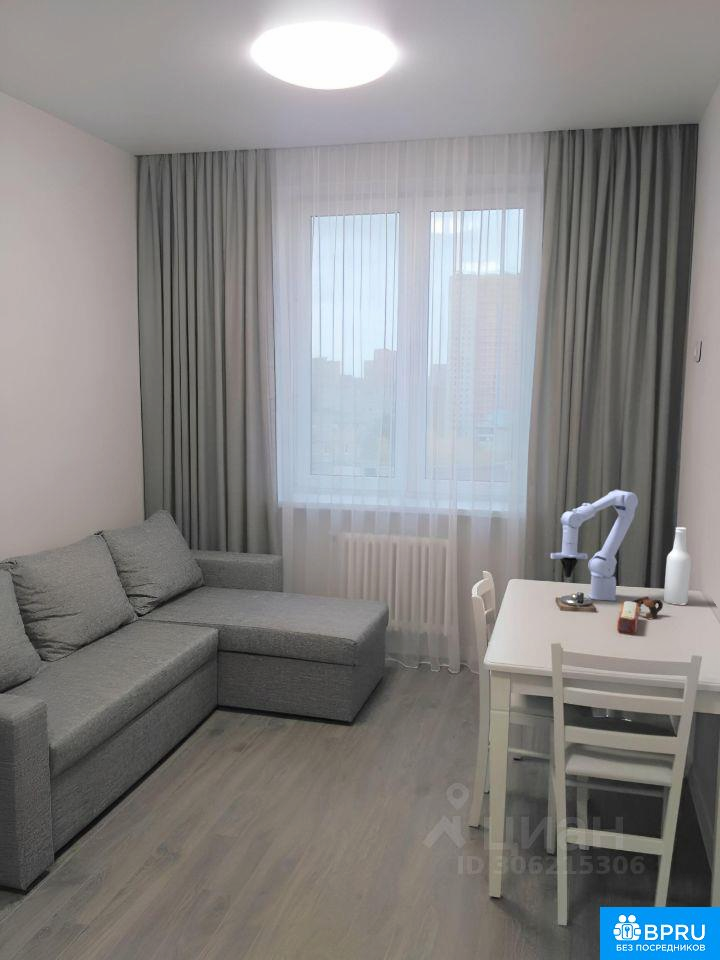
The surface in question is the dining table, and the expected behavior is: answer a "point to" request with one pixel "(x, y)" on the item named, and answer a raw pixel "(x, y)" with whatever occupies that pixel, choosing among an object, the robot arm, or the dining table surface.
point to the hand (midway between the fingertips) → (567, 576)
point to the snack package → (628, 617)
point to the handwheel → (576, 600)
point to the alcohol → (677, 570)
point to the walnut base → (575, 607)
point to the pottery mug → (650, 606)
